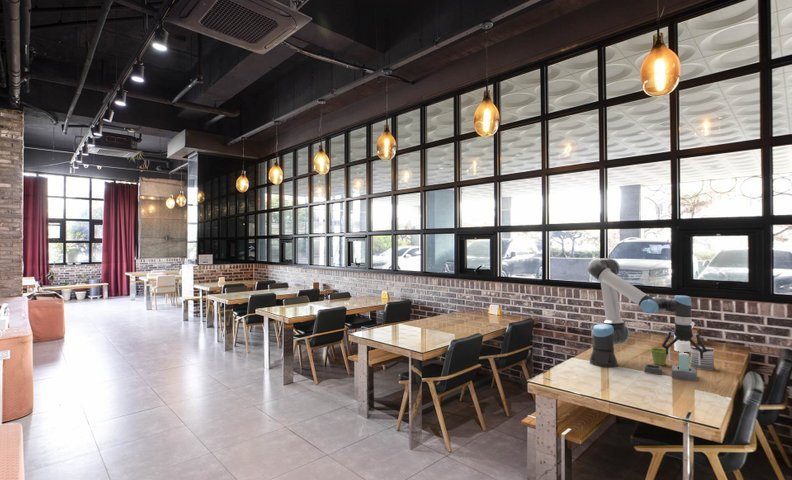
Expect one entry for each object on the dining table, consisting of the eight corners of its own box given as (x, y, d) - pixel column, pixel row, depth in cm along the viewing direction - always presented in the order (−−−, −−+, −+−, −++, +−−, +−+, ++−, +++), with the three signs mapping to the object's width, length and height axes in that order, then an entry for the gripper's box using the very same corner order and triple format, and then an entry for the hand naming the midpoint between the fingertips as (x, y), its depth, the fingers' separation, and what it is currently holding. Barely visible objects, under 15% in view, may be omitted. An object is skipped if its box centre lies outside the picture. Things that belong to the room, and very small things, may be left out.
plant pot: (671, 366, 241) (671, 352, 241) (654, 366, 243) (653, 351, 243) (664, 362, 250) (664, 348, 250) (647, 361, 252) (647, 347, 252)
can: (689, 367, 239) (688, 347, 239) (691, 363, 248) (691, 343, 248) (713, 371, 232) (713, 350, 232) (715, 366, 240) (715, 346, 240)
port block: (672, 377, 221) (671, 369, 222) (672, 372, 230) (672, 364, 230) (697, 381, 215) (696, 373, 215) (696, 375, 224) (696, 367, 224)
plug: (679, 376, 222) (678, 353, 222) (679, 374, 226) (678, 351, 226) (689, 378, 220) (688, 354, 220) (689, 376, 223) (688, 353, 223)
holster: (644, 372, 230) (644, 367, 230) (646, 369, 237) (645, 363, 237) (660, 374, 226) (660, 369, 226) (661, 371, 232) (661, 366, 232)
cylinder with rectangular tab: (689, 350, 278) (689, 332, 278) (690, 353, 270) (690, 335, 270) (674, 348, 282) (673, 331, 283) (674, 351, 275) (674, 333, 275)
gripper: (656, 322, 227) (656, 360, 227) (712, 327, 213) (713, 367, 212) (656, 320, 234) (657, 357, 233) (711, 325, 219) (712, 364, 219)
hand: (684, 362), depth 223 cm, fingers open, 13 cm apart
